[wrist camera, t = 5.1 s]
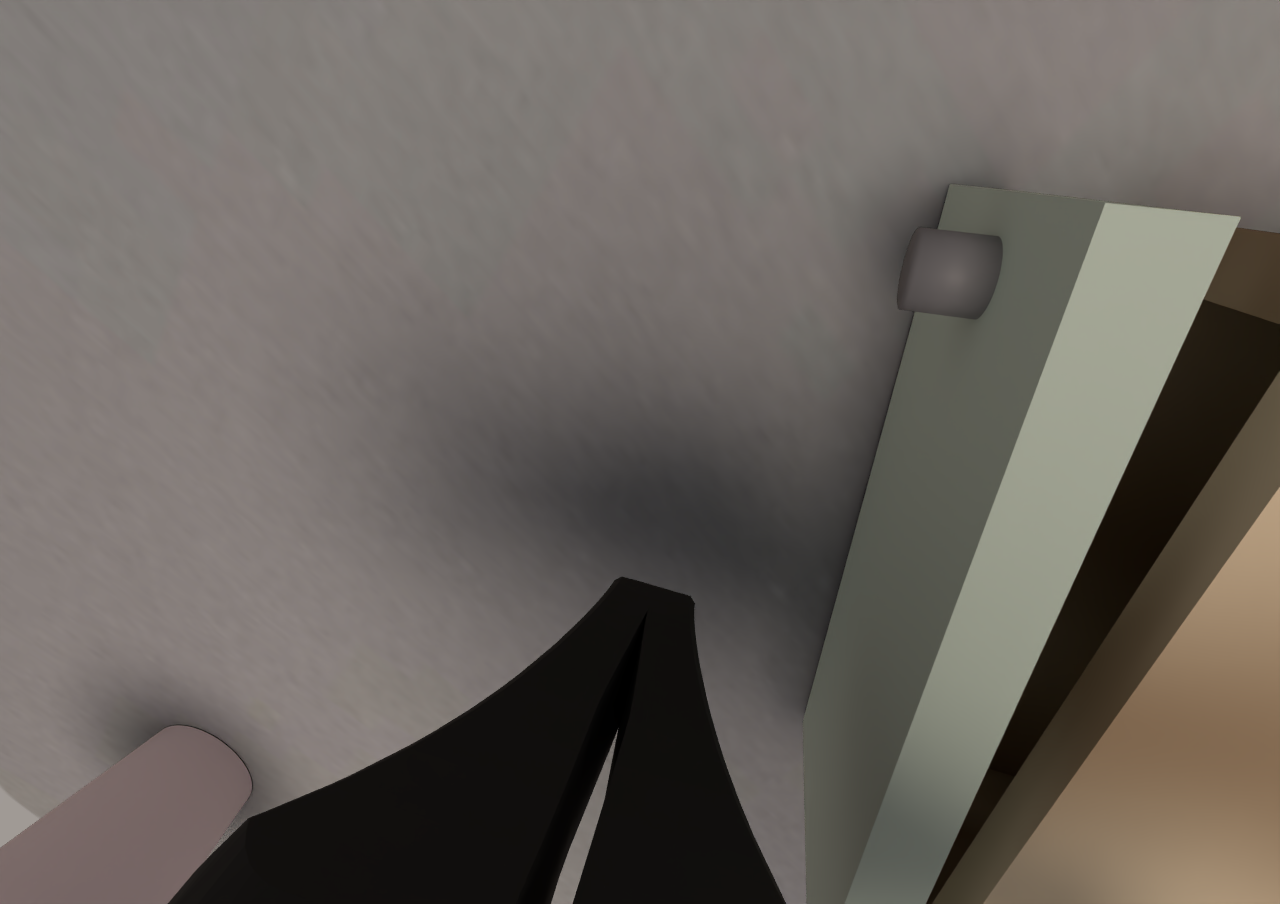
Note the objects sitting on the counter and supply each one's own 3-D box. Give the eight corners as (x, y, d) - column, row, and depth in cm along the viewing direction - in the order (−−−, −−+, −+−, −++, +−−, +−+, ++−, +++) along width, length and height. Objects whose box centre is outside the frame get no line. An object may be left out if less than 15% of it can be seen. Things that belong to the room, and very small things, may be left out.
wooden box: (1211, 837, 15) (1453, 1225, 9) (858, 730, 16) (894, 1029, 10) (1673, 325, 9) (2825, 533, 4) (1105, 208, 10) (1442, 256, 5)
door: (845, 731, 15) (872, 1019, 10) (765, 712, 16) (752, 983, 11) (1015, 190, 10) (1239, 217, 5) (892, 177, 11) (989, 190, 5)
